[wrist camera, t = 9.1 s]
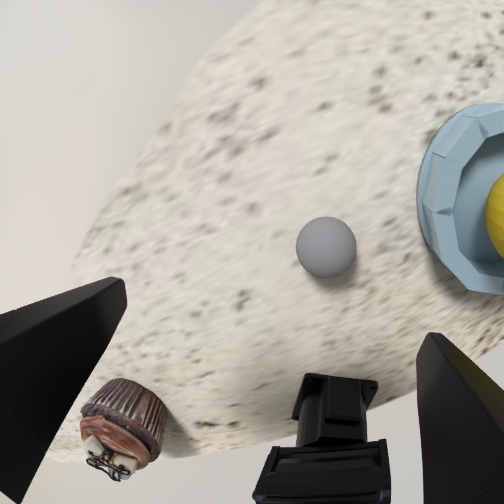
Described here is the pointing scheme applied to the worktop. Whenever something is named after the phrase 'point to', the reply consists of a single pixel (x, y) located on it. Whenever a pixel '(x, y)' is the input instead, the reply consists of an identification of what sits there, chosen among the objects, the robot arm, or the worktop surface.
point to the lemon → (496, 214)
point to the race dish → (463, 195)
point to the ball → (326, 247)
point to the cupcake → (122, 428)
